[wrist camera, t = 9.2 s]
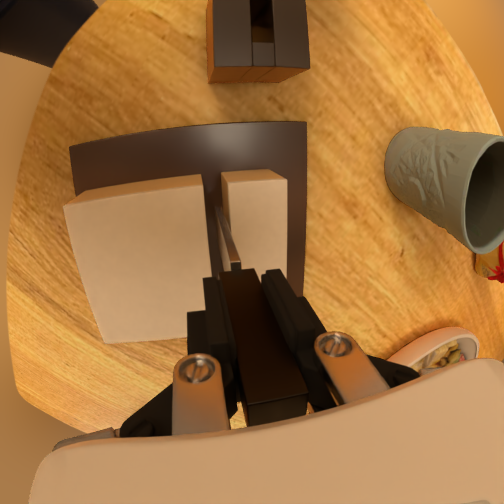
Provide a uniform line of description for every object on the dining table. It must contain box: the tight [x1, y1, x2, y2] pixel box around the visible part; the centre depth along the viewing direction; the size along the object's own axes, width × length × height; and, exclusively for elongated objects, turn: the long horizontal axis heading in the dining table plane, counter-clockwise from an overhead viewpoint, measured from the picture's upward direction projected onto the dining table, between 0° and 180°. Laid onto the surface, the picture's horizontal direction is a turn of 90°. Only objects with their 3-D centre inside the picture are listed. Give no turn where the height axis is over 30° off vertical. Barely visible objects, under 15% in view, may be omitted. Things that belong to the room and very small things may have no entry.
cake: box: [63, 174, 212, 344], centre depth 22 cm, size 12×10×5 cm
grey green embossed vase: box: [384, 127, 504, 254], centre depth 22 cm, size 10×10×12 cm
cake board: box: [69, 121, 307, 297], centre depth 26 cm, size 20×20×1 cm
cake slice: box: [221, 169, 287, 282], centre depth 24 cm, size 12×4×5 cm, turn 2°
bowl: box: [387, 327, 479, 372], centre depth 41 cm, size 30×30×8 cm
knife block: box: [206, 0, 310, 84], centre depth 17 cm, size 7×6×7 cm
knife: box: [215, 207, 310, 427], centre depth 14 cm, size 3×2×16 cm, turn 2°
